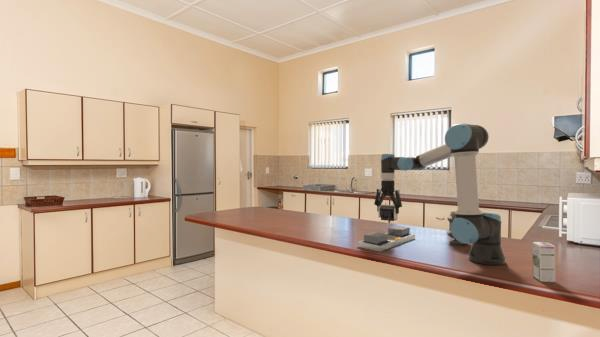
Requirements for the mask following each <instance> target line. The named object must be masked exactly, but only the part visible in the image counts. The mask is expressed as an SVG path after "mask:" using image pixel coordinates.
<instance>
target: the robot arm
mask: <svg viewBox="0 0 600 337" xmlns="http://www.w3.org/2000/svg"><path fill="white" fill-rule="evenodd" d="M444 135H445V136H444V144H441V145H439V146H437V147H435V148H433V149H431V150H427V151H426V152H423V153H420V154H418V155H417V156H395V154H394V153H383V154H381V158H380V165H381V166H380V167H381V168H380V171H381V172H380V175H381V176H380V180H381V181H380V182H381V183H380V184H381V185H380V187H381V188H376V193H375V199H374V206H376V207H377V208H376V210H377V214H378V218H380V219H381V214H380V205H381V204H382V205H383V202H384V199H385V198H386V197H389V198H390V199H391V202H392V203H393V204H392V205H394V206H395V208H394V221H397V220H398V219H399V217H398V214H399V213H400V208H402V207H403V204H402V199H401V195H400V189H395V171H420V170H421V171H422V170H425V169H427V167H428V166H433V165H434V164H436V163H437V164H438V163H439V162H443V161H444V160H447V159H450V158H453V157H454V170H455V185H456V186H455V187H456V200H457V201H456V202H457V210H456V211H454V212H455V219H454V220H453V222H451V225H450V224H449V225H450V230H451V233H452V235H453V236H454V238H456V240H458V241H459V242H461V243H465V244H467V245H469V244H472V245H471V247H470V249H469V252H468V261H469V260H470V261H471V262H473V263H476V264H479V265H480V264H482V265H487V266H502V265H505V264H506V257H505V254H504V252H503V249H502V246H501V245H502V218H501V215H500V214H498V213H492V212H483V211H481V210H480V205H479V191H478V176H477V174H478V173H477V161H476V156H477V155H478V154H479V153H480V149H482V148H483V147H485V146H486V145H487V143H488V141H489V138H490V136H489V132H488V131H487V129H486V128H485V127H483V126H481V125H478V124H468V123H457V124H453V125H452V126H450V127H449V128H448V129H447V131H446V132H445V134H444ZM396 219H397V220H396ZM454 238H453V239H454Z"/></svg>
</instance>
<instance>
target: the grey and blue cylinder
mask: <svg viewBox="0 0 600 337" xmlns="http://www.w3.org/2000/svg"><path fill="white" fill-rule="evenodd" d="M455 212H456V211H450V214H449V215H448V216H447V219H446V220H447V221H448V222H449V228H448V229H447V231H446V234H447V236H448V237H450V238H452V239H451V240H450V241H448V243H449V244H451V245H454V246H456V245H457V246H466V245H468V244H465V243H461V242H459V241H458V240H456V238H454V236H453V235H452V233H451V230H450V225H451V222H453V220H454V219H455Z"/></svg>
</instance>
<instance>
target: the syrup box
mask: <svg viewBox="0 0 600 337" xmlns="http://www.w3.org/2000/svg"><path fill="white" fill-rule="evenodd" d="M532 277H533V278H534V279H536V280H537V281H539V282H543V283H544V282H545V283H556V245H554V244H552V243H549V242H546V241H545V242H544V241H533V242H532Z"/></svg>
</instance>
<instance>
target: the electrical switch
mask: <svg viewBox="0 0 600 337" xmlns="http://www.w3.org/2000/svg"><path fill="white" fill-rule="evenodd" d="M394 208H395V206H394V204H383V203H382V204H381V205H380V214H381V217H380V220H381V221H389V222H394V221H397V220H398V219H396V220H394Z"/></svg>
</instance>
